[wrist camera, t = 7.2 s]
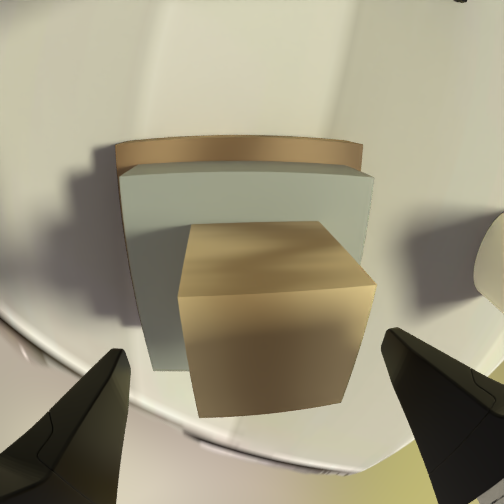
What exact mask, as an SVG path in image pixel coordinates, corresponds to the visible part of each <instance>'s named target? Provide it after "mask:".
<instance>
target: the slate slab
mask: <svg viewBox="0 0 504 504" xmlns="http://www.w3.org/2000/svg"><path fill="white" fill-rule="evenodd" d="M119 181H120V192H121V202H122V212H123V220H124V228H125V236H126V243H127V250H128V256H129V263H130V269H131V274H132V280H133V285H134V291H135V296H136V301H137V306H138V310H139V315H140V319H141V324H142V328H143V333H144V337H145V341H146V345H147V349H148V353H149V357H150V360H151V364H152V368H153V371H189V366H188V360H187V355H186V349H185V343H184V337H183V331H182V324H181V318H180V311H179V304H178V291H179V286H180V280H181V275H182V269H183V264H184V259H185V253H186V248H187V243H188V238H189V234H190V229H191V224H213V223H244V222H287V221H319V222H320V223H321V224H322V225H323V226H324V227H325V228H326V229H327V230H328V231H329V232H330V233H331V235H332V236H333V237H334V238H335V239H336V240H337V241H338V242H339V243H340V244H341V245H342V246H343V247H344V249H345V250H346V251H347V252H348V253H349V254H350V255H351V256H352V257H353V258H354V259H355V261H356V262H357V263H358V264H359V265H360V264H361V259H362V254H363V248H364V243H365V237H366V232H367V226H368V219H369V213H370V206H371V200H372V192H373V185H374V177H372V176H370V175H367V174H365V173H363V172H361V171H358V170H356V169H353V168H351V167H349V166H346V165H336V164H322V163H304V162H279V161H194V162H170V163H152V164H138V165H137V166H135V167H133V168H132V169H130V170H129V171H127V172H126V173H124V174H123V175H121V176H119Z"/></svg>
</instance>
